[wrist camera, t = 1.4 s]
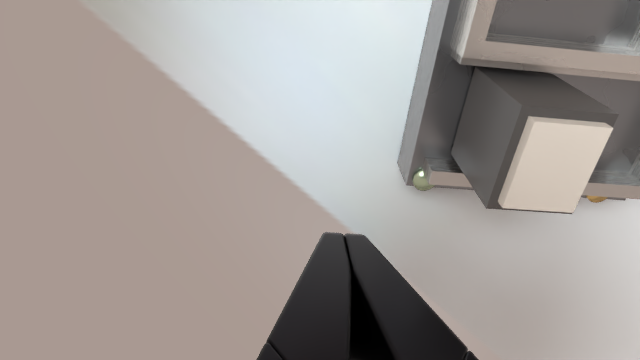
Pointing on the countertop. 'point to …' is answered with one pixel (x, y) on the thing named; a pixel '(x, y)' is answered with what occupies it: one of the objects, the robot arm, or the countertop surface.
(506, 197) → the block
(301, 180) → the countertop surface
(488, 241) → the countertop surface
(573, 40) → the breaker panel
